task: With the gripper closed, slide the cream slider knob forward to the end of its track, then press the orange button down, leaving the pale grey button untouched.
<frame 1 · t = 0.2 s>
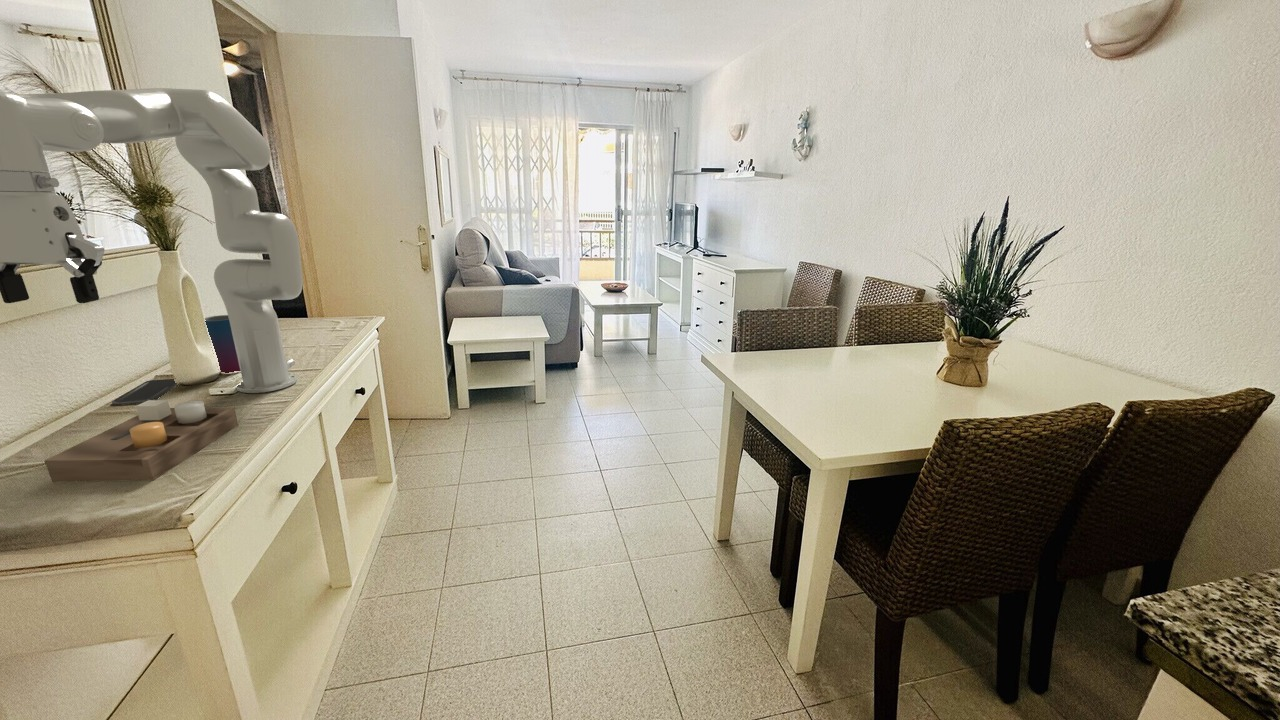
hand: (53, 301, 80), 31 cm above the table, tool pointing down, fingers open, 9 cm apart
control panel: (155, 450, 98), on the table
orange button: (148, 434, 92), point 6 cm above the table, slide at 0.0 cm
cup: (231, 372, 139), on the table
grey button: (190, 411, 101), point 6 cm above the table, slide at 0.0 cm
slider knob: (154, 410, 102), point 6 cm above the table, slide at 0.0 cm
phone: (151, 394, 125), on the table
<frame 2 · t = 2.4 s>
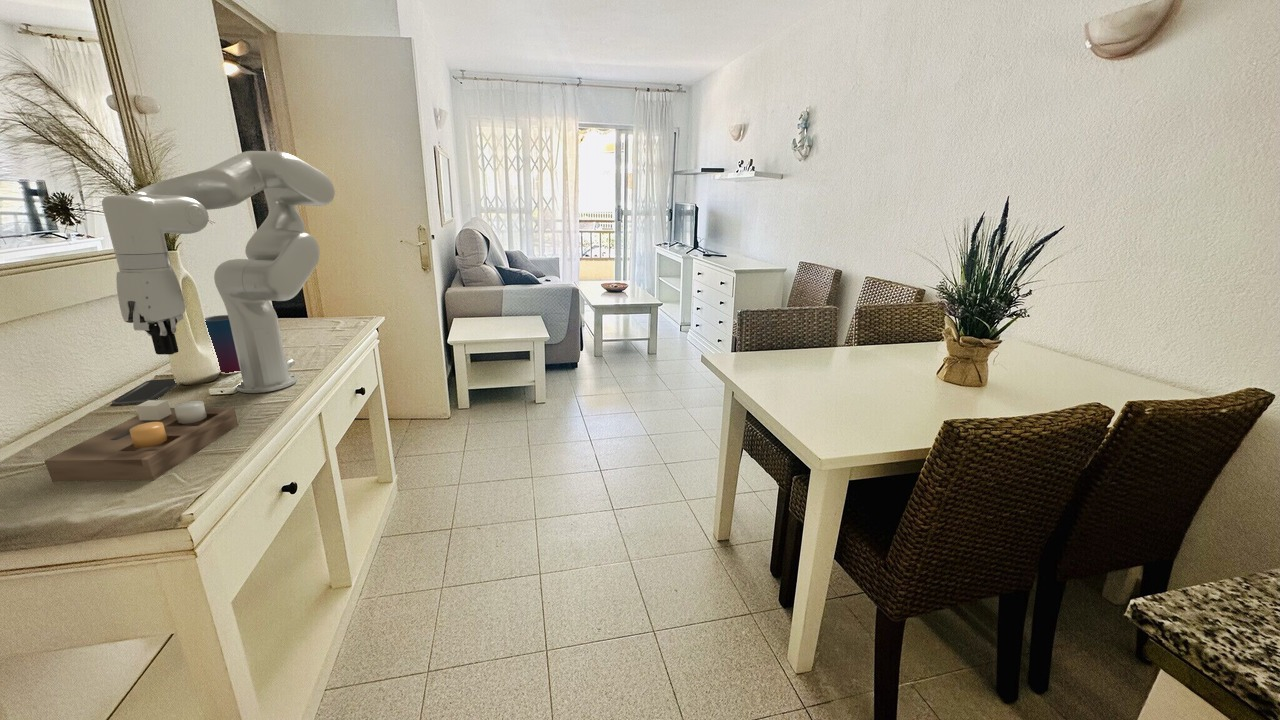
hand: (167, 353, 105), 15 cm above the table, tool pointing down, fingers closed
nothing on the table moved.
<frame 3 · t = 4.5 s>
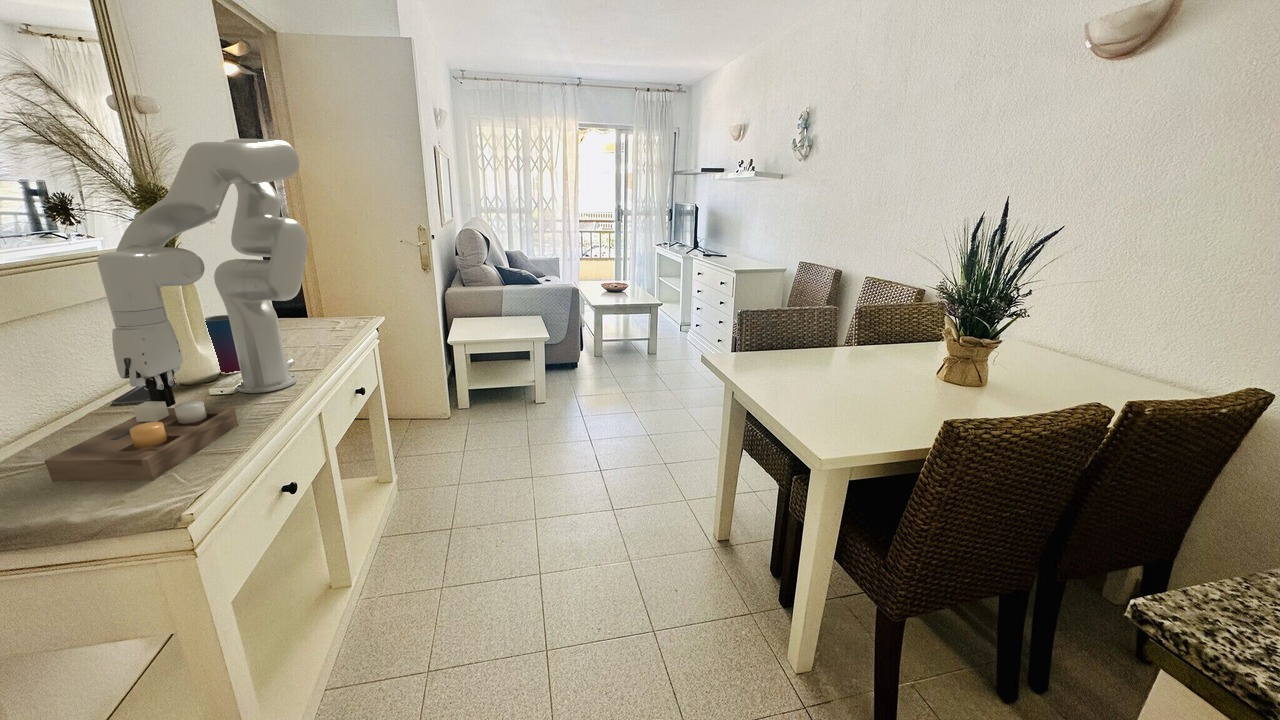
hand: (164, 405, 104), 6 cm above the table, tool pointing down, fingers closed
slider knob: (151, 411, 101), point 6 cm above the table, slide at 0.7 cm, touching gripper
everything else where it was.
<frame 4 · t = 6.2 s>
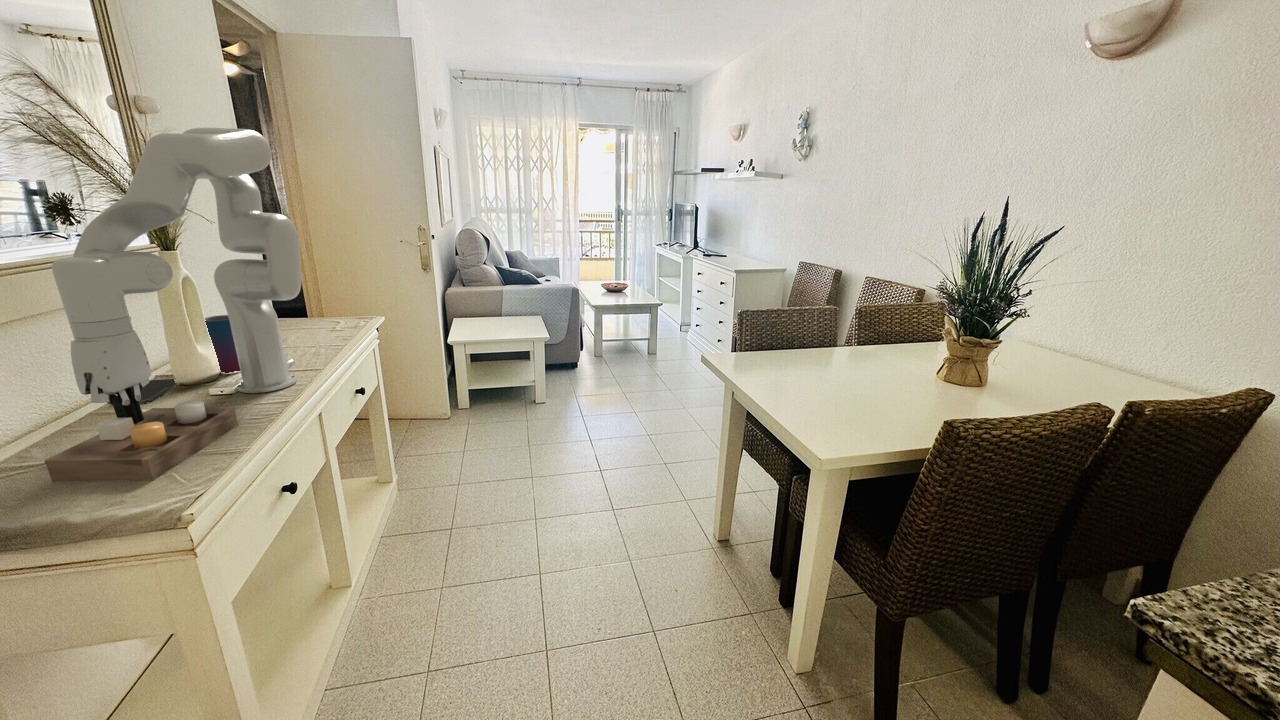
hand: (131, 422, 97), 5 cm above the table, tool pointing down, fingers closed
slider knob: (116, 428, 94), point 6 cm above the table, slide at 8.4 cm, touching gripper
everything else where it was.
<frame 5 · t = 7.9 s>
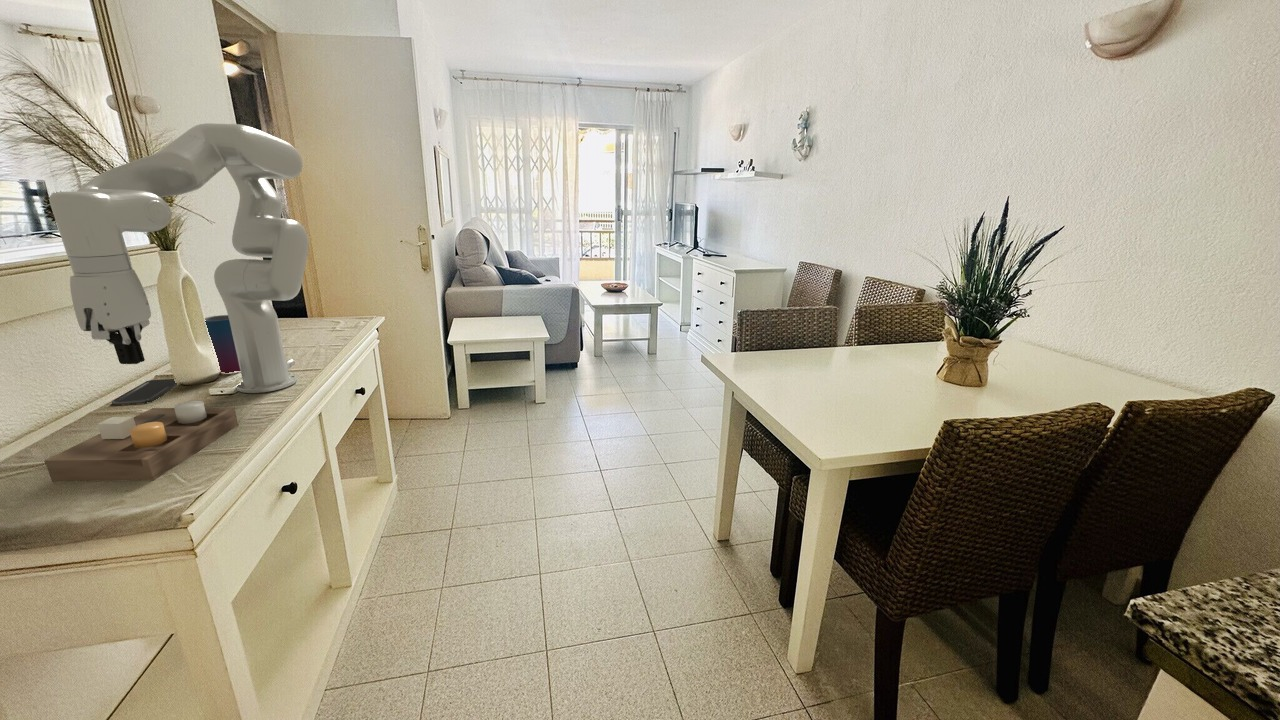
hand: (132, 362, 97), 16 cm above the table, tool pointing down, fingers closed
slider knob: (117, 427, 94), point 6 cm above the table, slide at 8.1 cm
everything else where it was.
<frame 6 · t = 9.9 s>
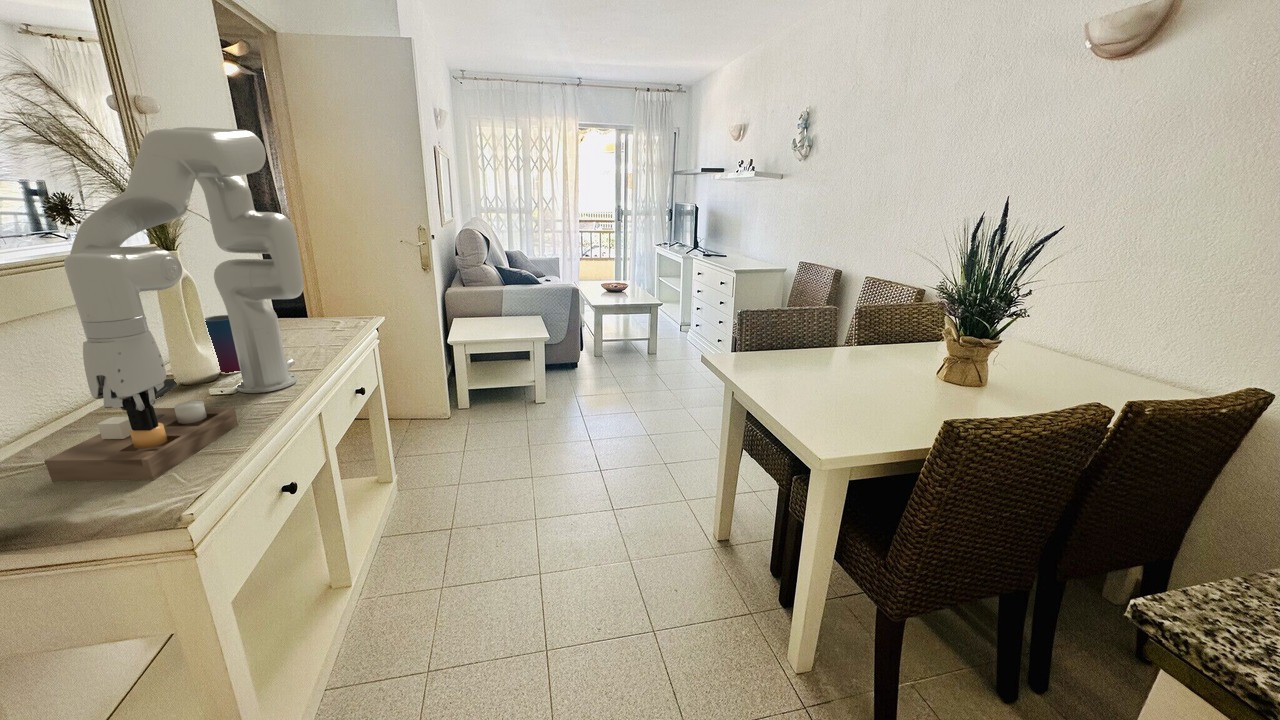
hand: (145, 428, 91), 7 cm above the table, tool pointing down, fingers closed
orange button: (149, 435, 92), point 6 cm above the table, slide at 0.2 cm, touching gripper
everything else where it was.
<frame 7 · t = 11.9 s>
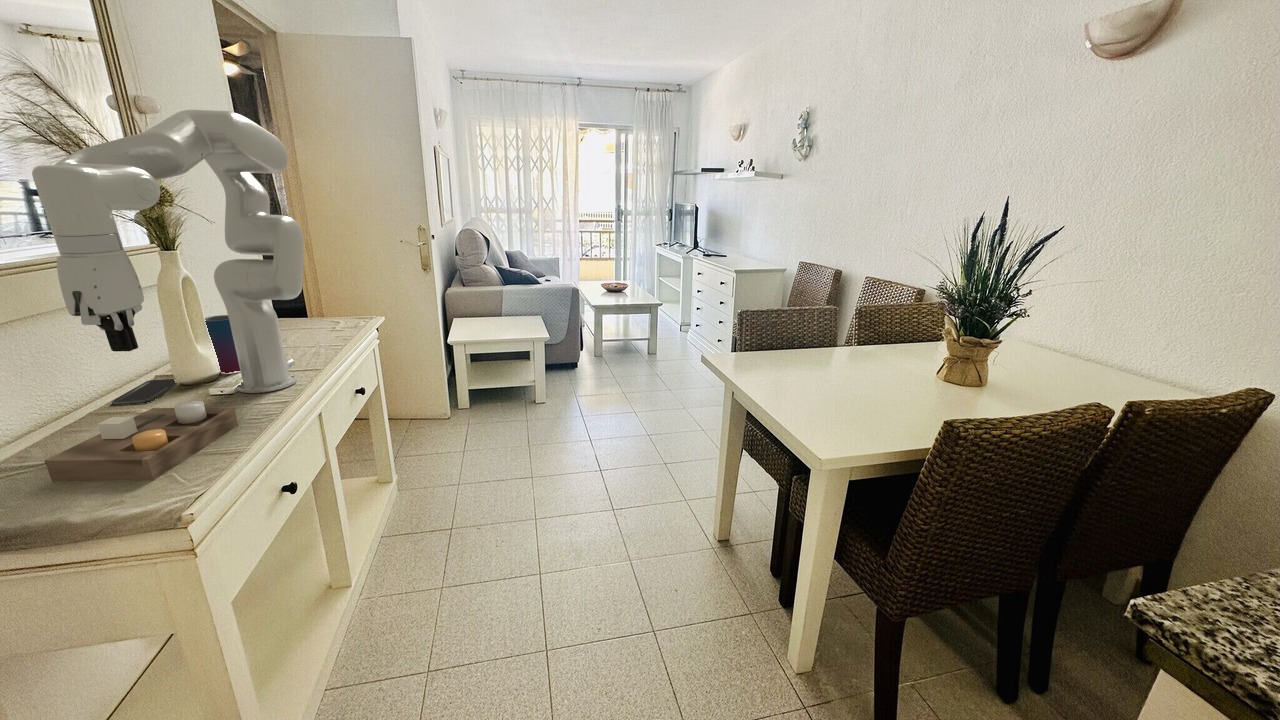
hand: (125, 349, 91), 20 cm above the table, tool pointing down, fingers closed
orange button: (150, 442, 92), point 4 cm above the table, slide at 1.5 cm
everything else where it was.
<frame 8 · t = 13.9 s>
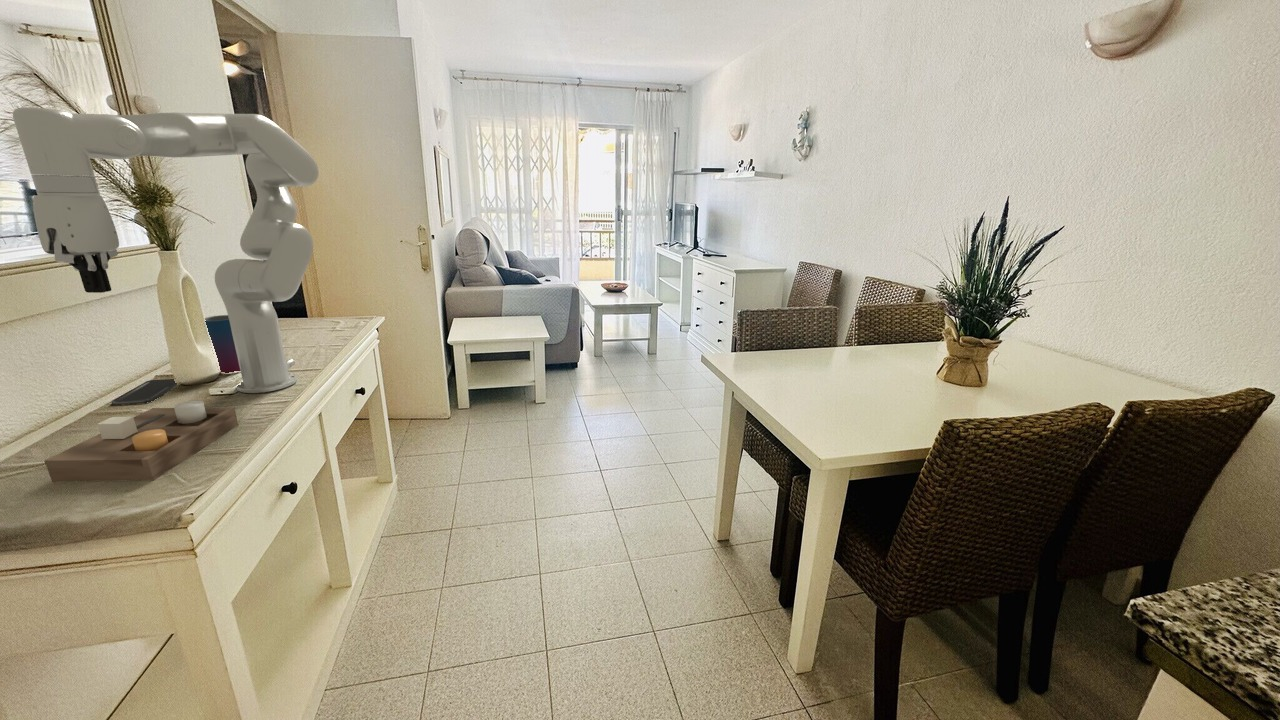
hand: (98, 291, 95), 29 cm above the table, tool pointing down, fingers closed
nothing on the table moved.
at the end: slider knob slide at 8.1 cm; orange button slide at 1.5 cm; grey button slide at 0.0 cm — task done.
